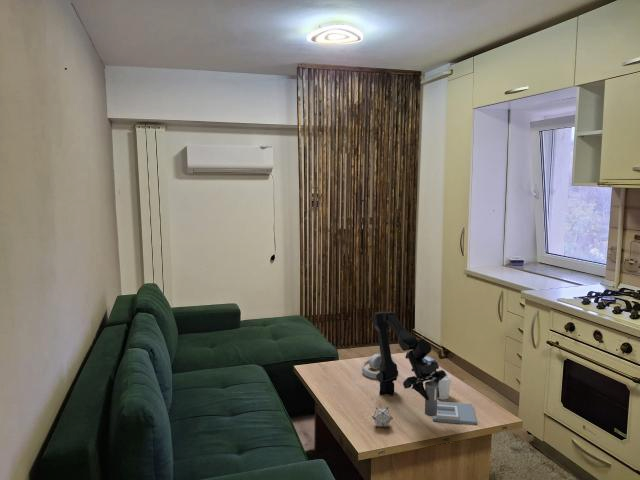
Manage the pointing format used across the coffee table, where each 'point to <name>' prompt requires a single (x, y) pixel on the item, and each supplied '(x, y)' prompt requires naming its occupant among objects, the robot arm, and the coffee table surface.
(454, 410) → the grey base plate
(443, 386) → the white cup
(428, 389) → the grey tall cup
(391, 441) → the coffee table surface
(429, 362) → the medicine box
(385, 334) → the robot arm
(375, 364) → the headphones
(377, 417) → the game die
